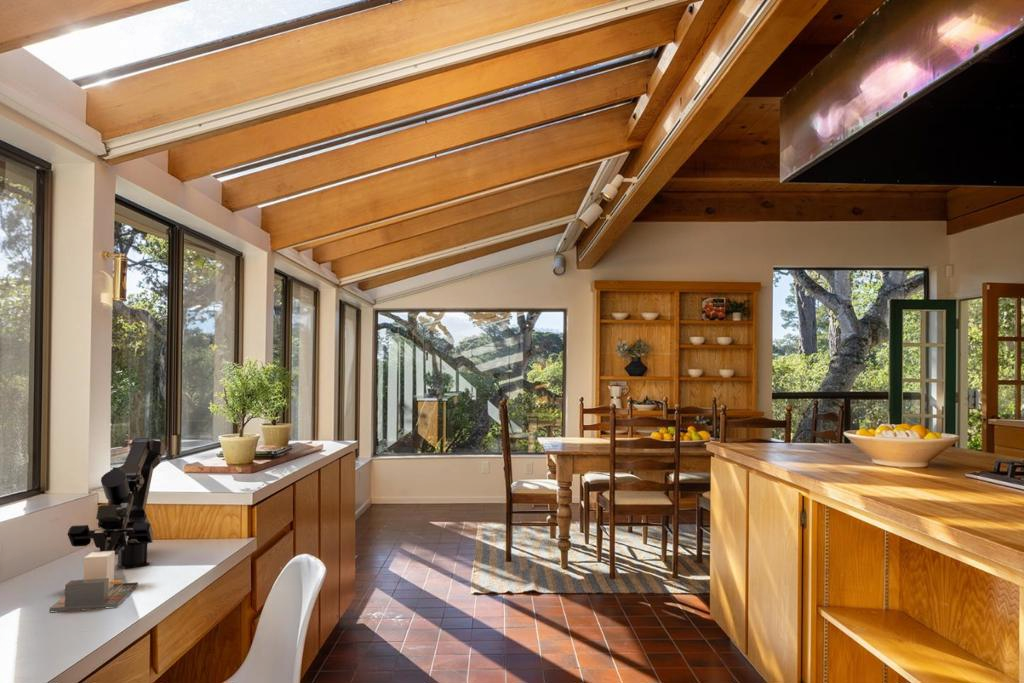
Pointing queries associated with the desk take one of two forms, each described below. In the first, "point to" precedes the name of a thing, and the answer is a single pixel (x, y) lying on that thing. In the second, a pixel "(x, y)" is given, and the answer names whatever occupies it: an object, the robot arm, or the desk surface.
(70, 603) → the gauge base
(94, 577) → the cream box
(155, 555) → the desk surface
